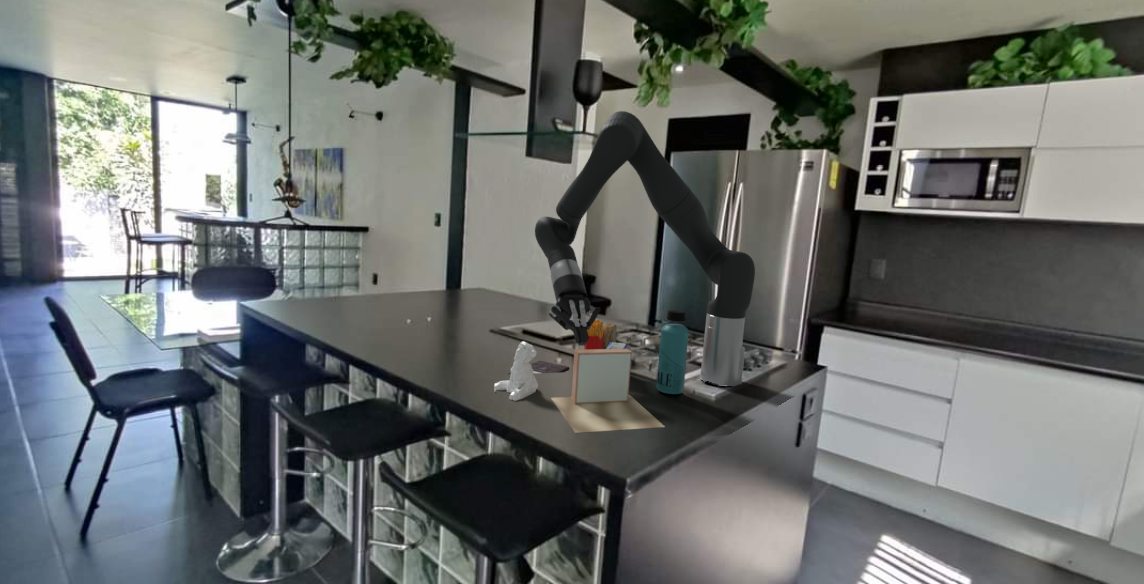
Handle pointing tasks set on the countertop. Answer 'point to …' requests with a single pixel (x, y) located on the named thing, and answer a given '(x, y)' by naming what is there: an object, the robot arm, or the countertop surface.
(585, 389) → the glazed tile
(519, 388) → the sitting furry creature
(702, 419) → the countertop surface
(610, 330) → the tan mottled block
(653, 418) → the birch board
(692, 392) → the countertop surface
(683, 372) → the beverage bottle
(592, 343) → the french fries
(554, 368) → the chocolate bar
